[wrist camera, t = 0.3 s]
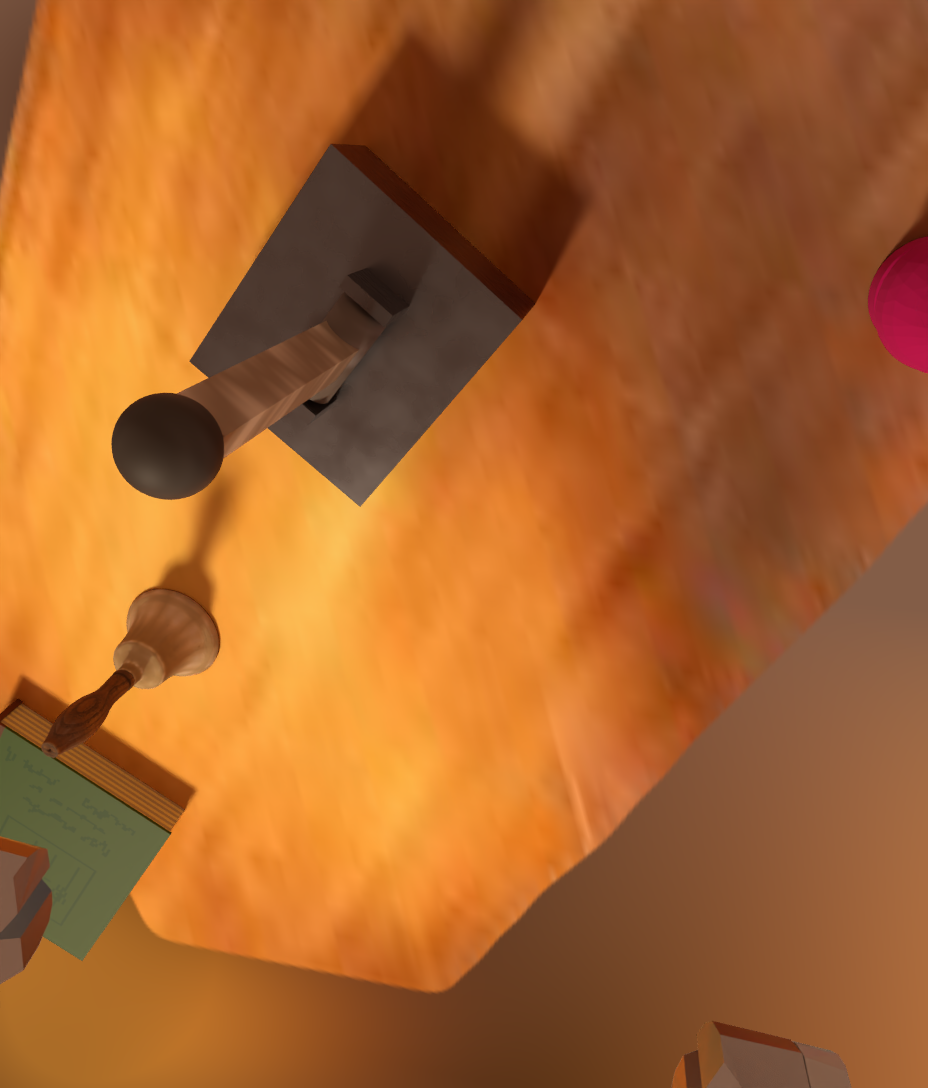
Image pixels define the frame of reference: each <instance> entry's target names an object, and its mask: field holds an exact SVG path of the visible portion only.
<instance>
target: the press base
mask: <svg viewBox="0 0 928 1088" xmlns="http://www.w3.org/2000/svg"><path fill="white" fill-rule="evenodd" d="M343 292H345V293H346V294H347V295H349V296H350V297H351V298H352V299H353V300H354V301H355V302H356V303H358V304H359V305H360V306H361V307H362V308H363V309H364V310H365V311H366V312H368V313H369V314H370V315H371V316H372V317H373V318H374V319H375V320H377V321H378V322H379V323H380V324H381V325H382V326H383V327H385V326H387V325H388V326H387V327H386V328H385V329H384V331H383V332H382V333H381V335H380V336H379V337H378V339H377V340H376V341H375V342H374V344H373V345H372V346H371V348H370V349H369V350H368V351H367V353H366V354H365V355H364V357H363V358H362V359H361V360H360V362H359V363H358V364H357V366H356V367H355V368H354V370H353V371H352V372H351V373H350V375H349V376H348V377H347V379H346V380H345V381H344V382H343V384H342V385H341V386H340V388H339V389H338V390H337V391H336V393H335V394H334V395H333V397H332V398H331V399H330V401H329V402H328V403H325V404H321V403H317V402H314V401H312V400H310V399H308V400H307V401H305V402H304V403H303V404H301V405H300V406H298V407H297V408H295V409H294V410H292V411H291V412H290V413H288V414H287V415H285V416H284V417H282V418H281V419H279V420H278V421H277V422H275V423H274V424H272V425H271V426H269V427H268V429H269V430H271V431H272V432H273V433H274V434H275V435H276V436H278V437H279V438H280V439H281V440H282V441H283V442H285V443H286V444H287V445H288V446H289V447H290V448H292V449H293V450H294V451H295V452H296V453H298V454H299V455H300V456H301V457H302V458H303V459H305V460H306V461H307V462H308V463H309V464H310V465H312V466H313V467H314V468H315V469H316V470H318V471H319V472H320V473H321V474H322V475H323V476H325V477H326V478H327V479H328V480H329V481H330V482H332V483H333V484H334V485H335V486H336V487H337V488H339V489H340V490H341V491H342V492H343V493H345V494H346V495H347V496H348V497H349V498H350V499H352V500H353V501H354V502H355V503H356V504H357V505H359V506H361V505H362V504H363V503H364V502H365V501H366V499H367V498H368V497H369V496H370V495H371V494H372V493H373V491H374V490H375V489H376V488H377V487H378V486H379V484H380V483H381V482H382V481H383V480H384V479H385V478H386V476H387V475H388V474H389V473H390V472H391V471H392V469H393V468H394V467H395V466H396V465H397V464H398V463H399V461H400V460H401V459H402V458H403V457H404V456H405V454H406V453H407V452H408V451H409V450H410V449H411V448H412V446H413V445H414V444H415V443H416V442H417V441H418V439H419V438H420V437H421V436H422V435H423V434H424V433H425V431H426V430H427V429H428V428H429V427H430V426H431V424H432V423H433V422H434V421H435V420H436V419H437V418H438V416H439V415H440V414H441V413H442V412H443V411H444V409H445V408H446V407H447V406H448V405H449V404H450V403H451V401H452V400H453V399H454V398H455V397H456V396H457V394H458V393H459V392H460V391H461V390H462V389H463V388H464V386H465V385H466V384H467V383H468V382H469V381H470V379H471V378H472V377H473V376H474V375H475V374H476V373H477V371H478V370H479V369H480V368H481V367H482V366H483V364H484V363H485V362H486V361H487V360H488V359H489V358H490V356H491V355H492V354H493V353H494V352H495V351H496V349H497V348H498V347H499V346H500V345H501V344H502V342H503V341H504V340H505V339H506V338H507V337H508V336H509V334H510V333H511V332H512V331H513V330H514V329H515V327H516V326H517V325H518V324H519V323H520V322H521V321H522V319H523V318H524V317H525V316H526V315H527V313H528V312H529V311H530V310H531V308H532V307H533V306H534V305H535V303H534V302H533V301H532V300H531V299H530V298H529V297H528V296H527V295H526V294H525V293H524V292H522V291H521V290H520V289H519V288H518V287H517V286H516V285H515V284H514V283H513V282H512V281H511V280H509V279H508V278H507V277H506V276H505V275H504V274H503V273H502V272H501V271H500V270H499V269H498V268H497V267H495V266H494V265H493V264H492V263H491V262H490V261H489V260H488V259H487V258H486V257H485V256H484V255H483V254H481V253H480V252H479V251H478V250H477V249H476V248H475V247H474V246H473V245H472V244H471V243H470V242H468V241H467V240H466V239H465V238H464V237H463V236H462V235H461V234H460V233H459V232H458V231H457V230H456V229H454V228H453V227H452V226H451V225H450V224H449V223H448V222H447V221H446V220H445V219H444V218H443V217H441V216H440V215H439V214H438V213H437V212H436V211H435V210H434V209H433V208H432V207H431V206H430V205H429V204H427V203H426V202H425V201H424V200H423V199H422V198H421V197H420V196H419V195H418V194H417V193H416V192H415V191H413V190H412V189H411V188H410V187H409V186H408V185H407V184H406V183H405V182H404V181H403V180H402V179H400V178H399V177H398V176H397V175H396V174H395V173H394V172H393V171H392V170H391V169H390V168H389V167H388V166H386V165H385V164H384V163H383V162H382V161H381V160H380V159H379V158H378V157H377V156H376V155H375V154H374V153H372V152H371V151H370V150H369V149H368V148H367V147H366V146H360V145H342V144H330V146H329V147H328V149H327V151H326V152H325V154H324V155H323V157H322V158H321V160H320V161H319V163H318V164H317V166H316V167H315V169H314V171H313V172H312V174H311V175H310V177H309V178H308V180H307V181H306V183H305V184H304V186H303V187H302V189H301V191H300V192H299V194H298V195H297V197H296V198H295V200H294V201H293V203H292V204H291V206H290V207H289V209H288V211H287V212H286V214H285V215H284V217H283V218H282V220H281V221H280V223H279V224H278V226H277V227H276V229H275V231H274V232H273V234H272V235H271V237H270V238H269V240H268V241H267V243H266V244H265V246H264V247H263V249H262V251H261V252H260V254H259V255H258V257H257V258H256V260H255V261H254V263H253V264H252V266H251V268H250V269H249V271H248V272H247V274H246V275H245V277H244V278H243V280H242V281H241V283H240V284H239V286H238V288H237V289H236V291H235V292H234V294H233V295H232V297H231V298H230V300H229V301H228V303H227V304H226V306H225V308H224V309H223V311H222V312H221V314H220V315H219V317H218V318H217V320H216V321H215V323H214V324H213V326H212V328H211V329H210V331H209V332H208V334H207V335H206V337H205V338H204V340H203V341H202V343H201V344H200V346H199V348H198V349H197V351H196V352H195V354H194V355H193V357H192V358H191V360H190V361H189V362H191V363H192V364H193V365H194V366H195V367H197V368H198V369H199V370H200V371H201V372H202V373H204V374H205V375H206V376H207V377H208V378H210V377H212V376H214V375H216V374H218V373H220V372H222V371H224V370H226V369H228V368H230V367H232V366H234V365H237V364H239V363H241V362H243V361H245V360H247V359H249V358H251V357H253V356H255V355H257V354H259V353H261V352H263V351H265V350H267V349H269V348H271V347H273V346H275V345H278V344H280V343H282V342H284V341H286V340H288V339H290V338H292V337H294V336H296V335H298V334H300V333H302V332H304V331H306V330H308V329H310V328H312V327H314V326H316V325H318V324H321V322H322V321H323V320H324V318H325V317H326V316H327V314H328V313H329V311H330V310H331V309H332V307H333V306H334V305H335V303H336V302H337V300H338V299H339V298H340V296H341V295H342V294H343Z"/></svg>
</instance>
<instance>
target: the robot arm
mask: <svg viewBox="0 0 928 1088" xmlns="http://www.w3.org/2000/svg"><path fill="white" fill-rule="evenodd" d="M49 867H50V864H49V857H48V850H47V849H46V848H42V847H38V846H34V845H30V844H27V843H23V842H19V841H15V840H11V839H8V838H4V837H0V984H1V983H3V982H5V981H6V980H8V979H10V978H11V977H13V976H15V975H16V974H18V973H20V972H21V971H23V970H24V969H25V967H26V965H27V964H28V962H29V960H30V959H31V957H32V955H33V954H34V952H35V951H36V949H37V948H38V946H39V944H40V941H41V939H42V936H43V934H44V932H45V929H46V927H47V925H48V922H49V919H50V914H51V908H52V890H51V889H50V888H49V887H48V886H47V884H46V883H45V882H44V881H43V880H42V878H43V876H44V875H45V873H46V872H47V870H48V869H49ZM697 1043H698V1050H697V1051H694V1052H691V1053H688V1054H685V1055H684V1056H683V1057H682V1059H681V1061H680V1063H679V1065H678V1066H677V1068H676V1070H675V1073H674V1077H673V1082H672V1087H671V1088H851V1084H850V1081H849V1077H848V1074H847V1070H846V1066H845V1064H844V1063H843V1061H842V1060H841V1058H840V1056H839V1055H838V1054H836V1053H834V1052H832V1051H830V1050H826V1049H822V1048H818V1047H814V1046H810V1045H806V1044H802V1043H797V1042H793V1041H791V1040H789V1039H786V1038H782V1037H778V1036H773V1035H769V1034H765V1033H761V1032H757V1031H753V1030H748V1029H744V1028H740V1027H736V1026H732V1025H727V1024H723V1023H719V1022H714V1021H711V1022H707V1023H704V1025H703V1026H702V1028H701V1029H700V1031H699V1032H698V1034H697Z"/></svg>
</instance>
